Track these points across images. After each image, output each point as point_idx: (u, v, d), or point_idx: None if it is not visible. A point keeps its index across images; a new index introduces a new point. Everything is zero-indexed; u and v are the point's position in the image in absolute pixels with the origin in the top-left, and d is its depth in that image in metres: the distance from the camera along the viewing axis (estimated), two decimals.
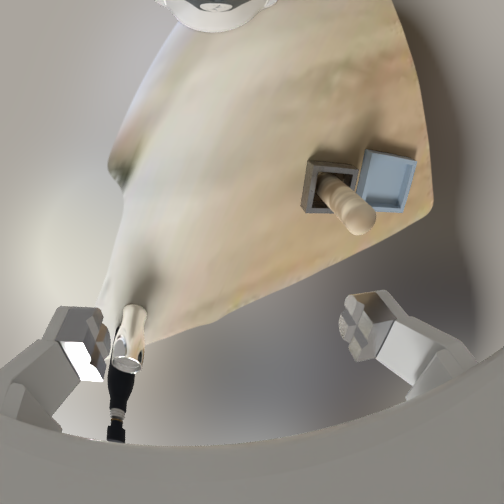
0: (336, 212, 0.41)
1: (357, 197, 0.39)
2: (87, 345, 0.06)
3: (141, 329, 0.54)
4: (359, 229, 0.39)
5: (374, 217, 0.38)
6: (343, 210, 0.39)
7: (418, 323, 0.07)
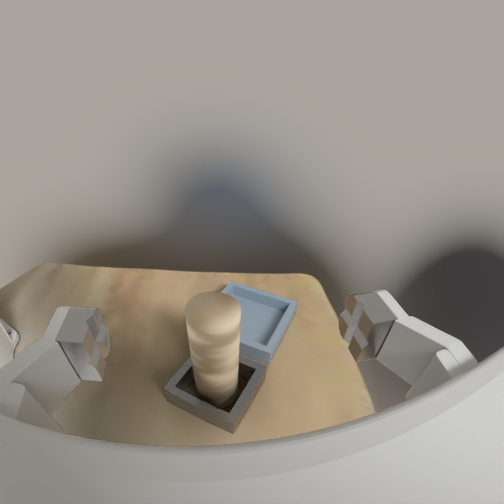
0: (208, 357, 0.24)
1: None
2: (87, 345, 0.06)
3: None
4: (227, 314, 0.23)
5: (220, 294, 0.26)
6: (193, 337, 0.23)
7: (418, 323, 0.07)
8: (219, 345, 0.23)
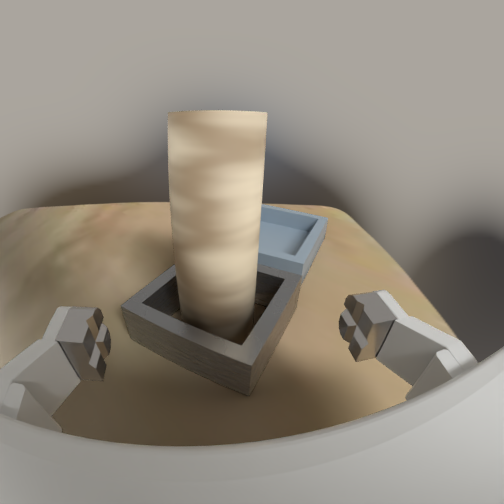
0: (203, 197, 0.12)
1: None
2: (87, 345, 0.06)
3: None
4: None
5: None
6: (176, 151, 0.12)
7: (418, 323, 0.07)
8: (227, 158, 0.11)
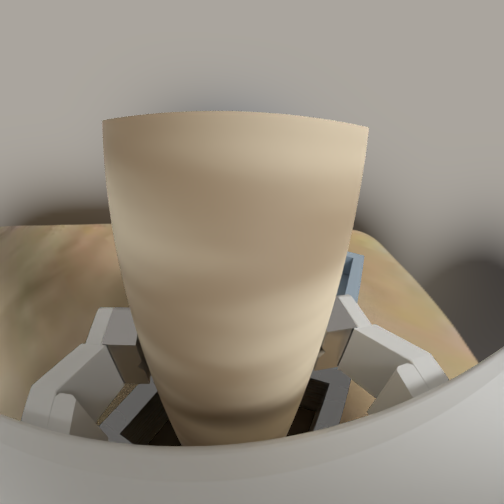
0: (206, 362, 0.05)
1: None
2: (138, 347, 0.06)
3: None
4: None
5: None
6: (123, 240, 0.04)
7: (381, 332, 0.07)
8: (277, 279, 0.04)
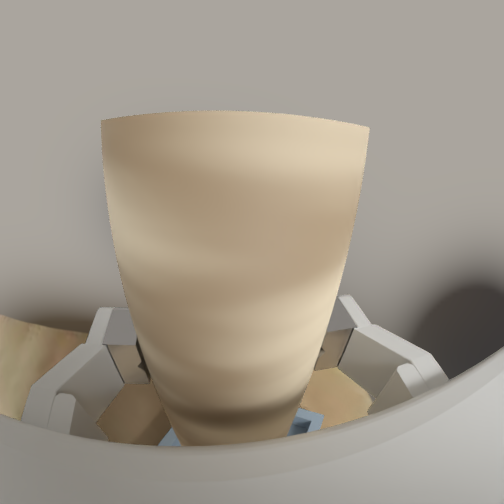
0: (206, 364, 0.04)
1: None
2: (138, 347, 0.06)
3: None
4: None
5: None
6: (121, 241, 0.04)
7: (381, 332, 0.07)
8: (276, 281, 0.04)
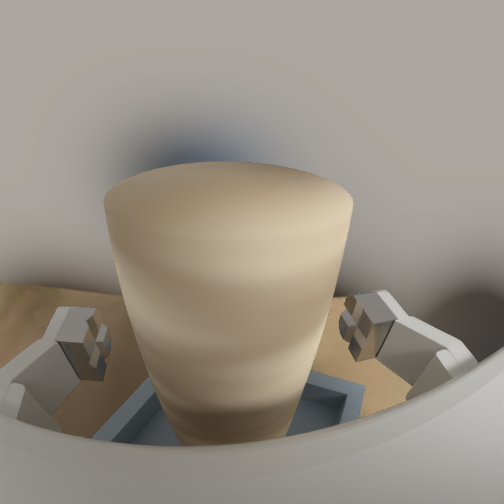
0: (208, 402, 0.05)
1: None
2: (87, 345, 0.06)
3: None
4: (301, 195, 0.05)
5: (250, 163, 0.07)
6: (133, 311, 0.05)
7: (418, 323, 0.07)
8: (263, 350, 0.04)
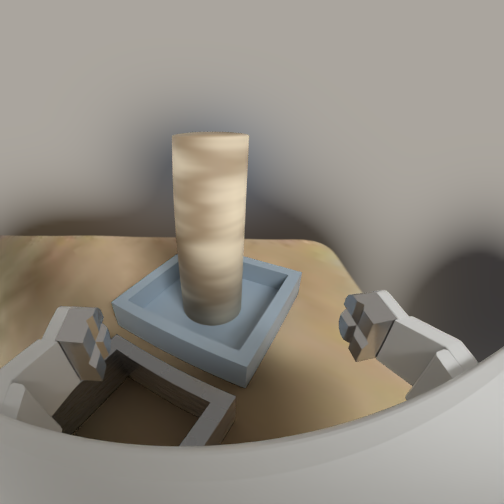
0: (199, 202, 0.16)
1: None
2: (87, 345, 0.06)
3: None
4: (231, 135, 0.16)
5: (220, 132, 0.18)
6: (179, 167, 0.16)
7: (418, 323, 0.07)
8: (217, 174, 0.15)
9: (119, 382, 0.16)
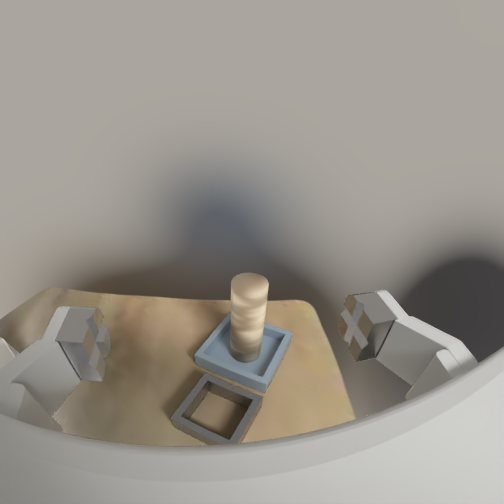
0: (246, 317, 0.36)
1: None
2: (87, 345, 0.06)
3: None
4: (260, 286, 0.36)
5: (253, 274, 0.39)
6: (236, 302, 0.36)
7: (418, 323, 0.07)
8: (255, 306, 0.36)
9: (205, 394, 0.36)
